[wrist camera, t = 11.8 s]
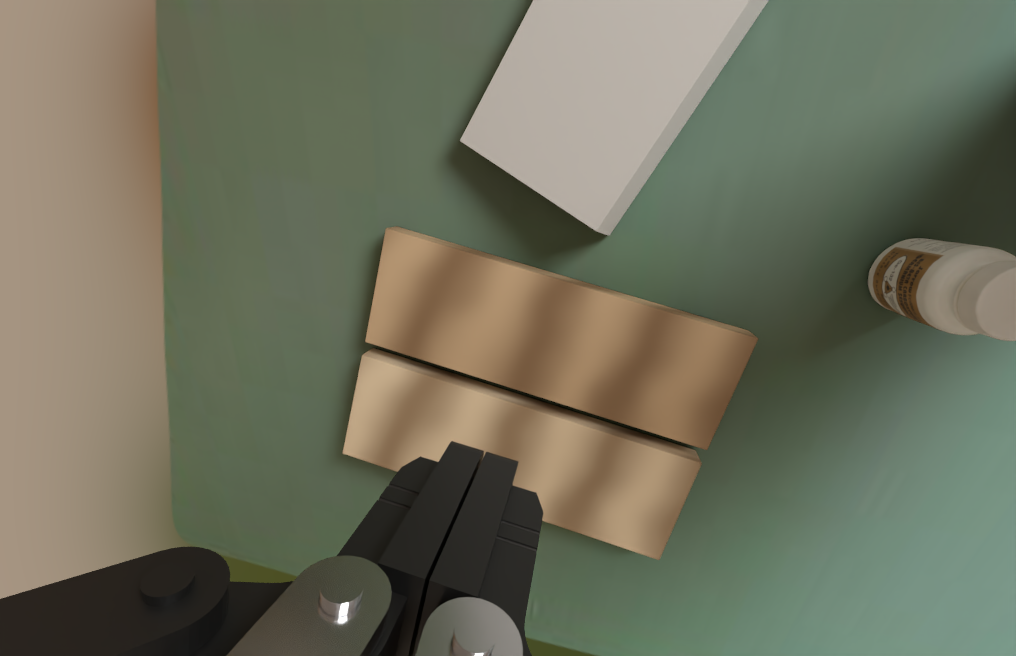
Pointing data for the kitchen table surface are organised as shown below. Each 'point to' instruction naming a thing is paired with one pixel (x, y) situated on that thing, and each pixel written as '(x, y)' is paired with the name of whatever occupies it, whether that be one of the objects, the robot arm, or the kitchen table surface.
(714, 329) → the laid plank
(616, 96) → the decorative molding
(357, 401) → the oak plank
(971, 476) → the kitchen table surface
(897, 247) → the pill bottle
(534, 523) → the robot arm
